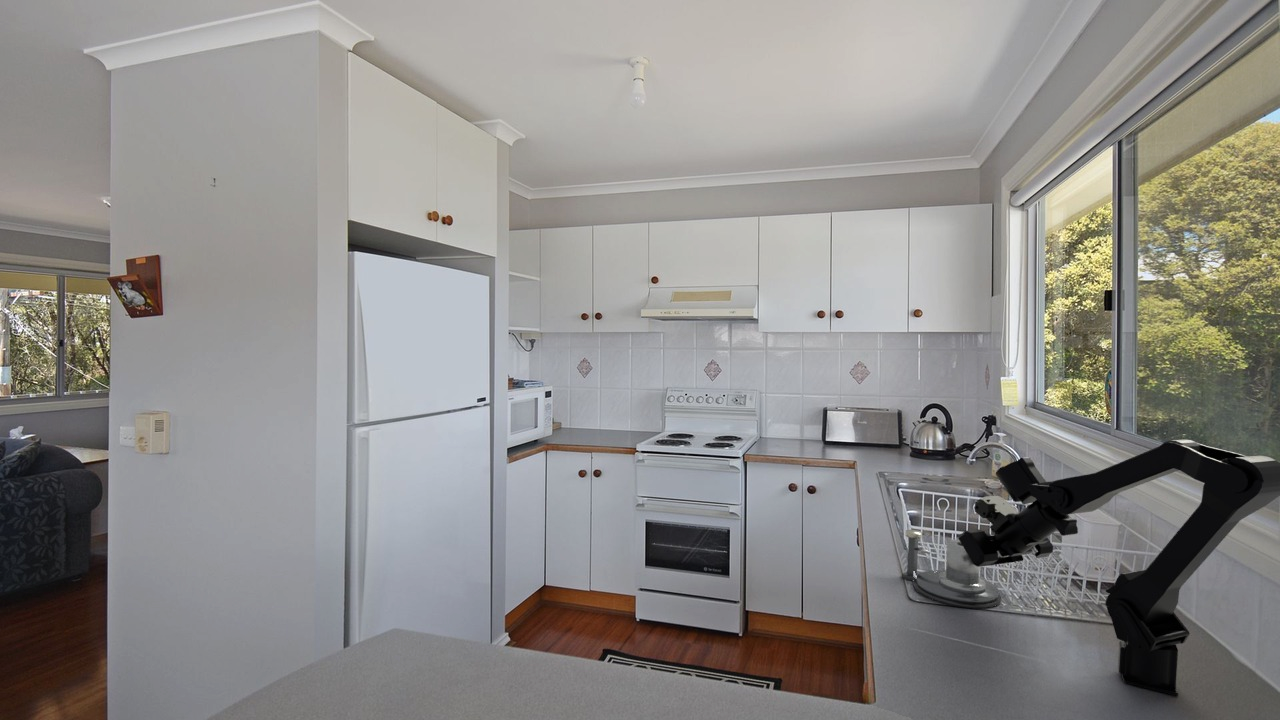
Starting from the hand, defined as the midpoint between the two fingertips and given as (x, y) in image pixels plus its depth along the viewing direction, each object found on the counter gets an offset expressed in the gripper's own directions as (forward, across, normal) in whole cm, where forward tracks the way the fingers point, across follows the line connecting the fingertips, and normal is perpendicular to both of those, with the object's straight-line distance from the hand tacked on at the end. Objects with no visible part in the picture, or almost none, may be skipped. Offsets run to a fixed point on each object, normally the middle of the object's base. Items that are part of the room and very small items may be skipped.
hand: (978, 564), depth 129 cm
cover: (+6, 0, +2) cm, 7 cm away
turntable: (+9, 0, +2) cm, 9 cm away
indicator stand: (+14, +3, -4) cm, 15 cm away
